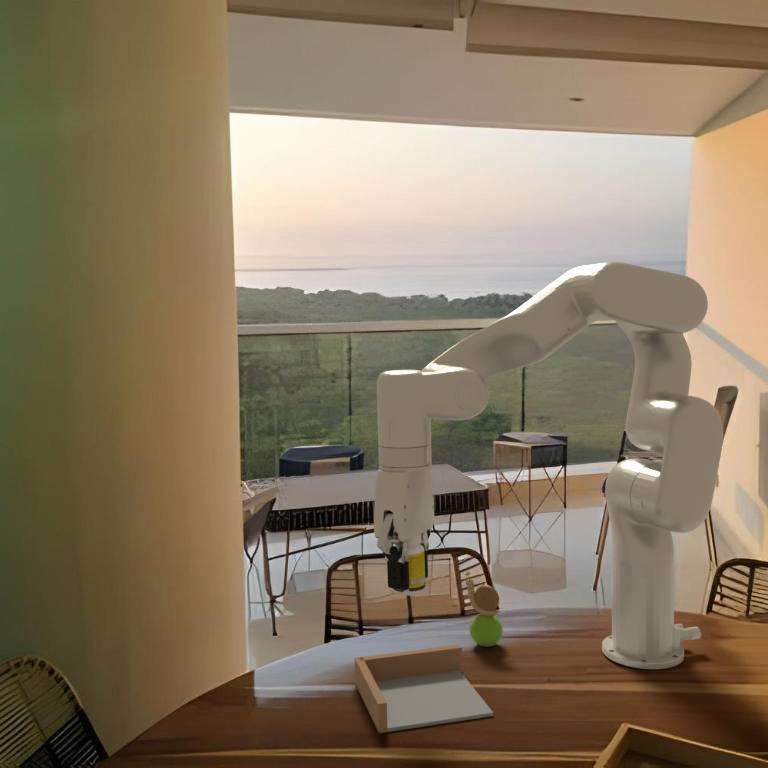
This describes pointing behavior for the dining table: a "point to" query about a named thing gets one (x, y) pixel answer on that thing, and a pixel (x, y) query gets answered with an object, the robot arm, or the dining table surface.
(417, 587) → the supplement bottle
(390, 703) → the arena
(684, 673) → the dining table surface
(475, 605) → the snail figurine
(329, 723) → the dining table surface
